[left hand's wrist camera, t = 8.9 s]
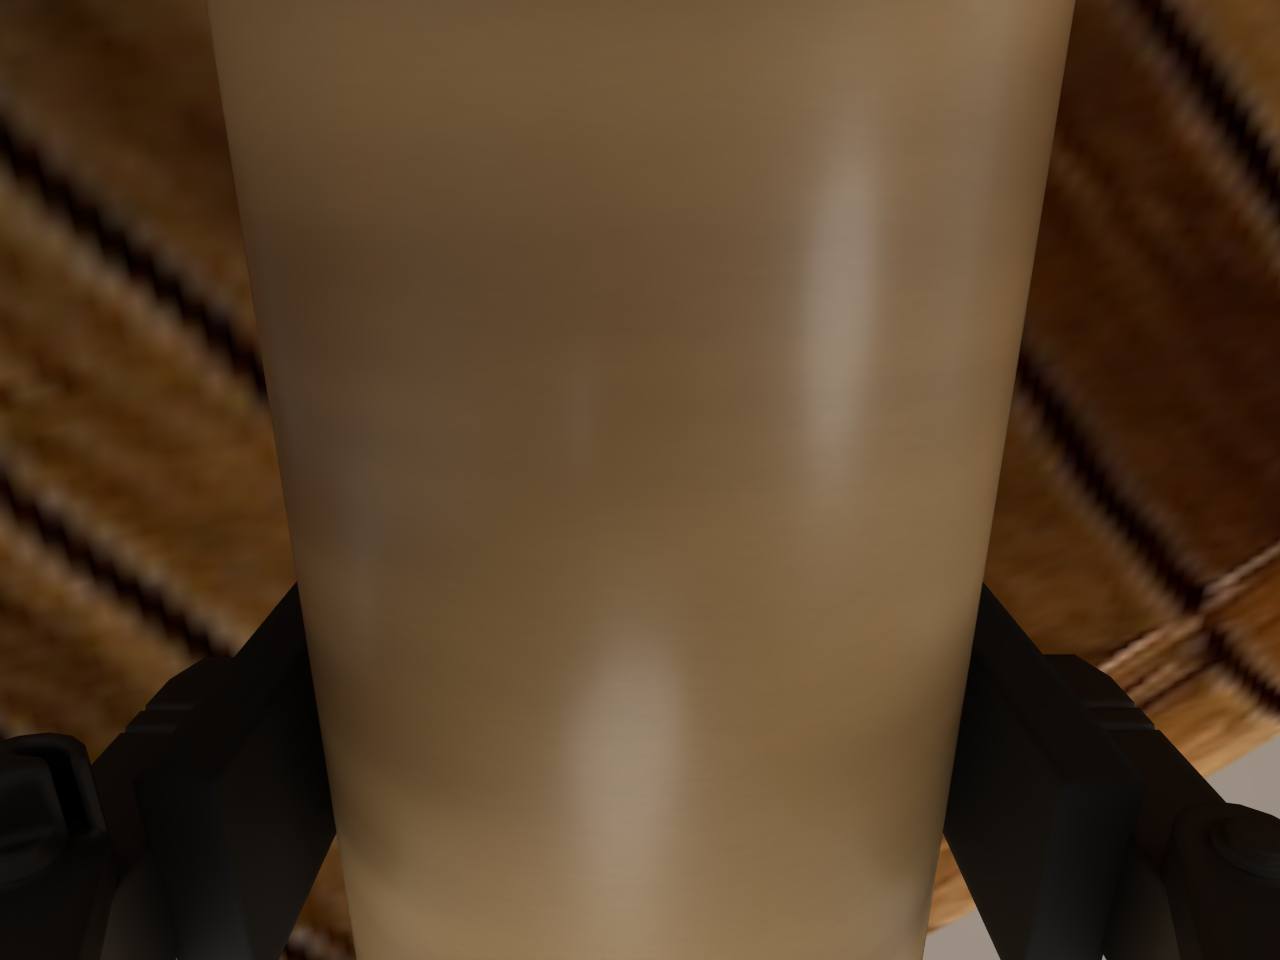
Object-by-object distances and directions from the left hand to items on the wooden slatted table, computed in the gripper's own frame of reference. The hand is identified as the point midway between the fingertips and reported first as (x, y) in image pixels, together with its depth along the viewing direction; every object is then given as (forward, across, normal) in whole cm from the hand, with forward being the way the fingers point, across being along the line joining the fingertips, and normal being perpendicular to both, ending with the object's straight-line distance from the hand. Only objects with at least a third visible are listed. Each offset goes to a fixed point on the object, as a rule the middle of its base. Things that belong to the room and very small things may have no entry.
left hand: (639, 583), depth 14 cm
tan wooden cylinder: (0, 0, -7) cm, 7 cm away
